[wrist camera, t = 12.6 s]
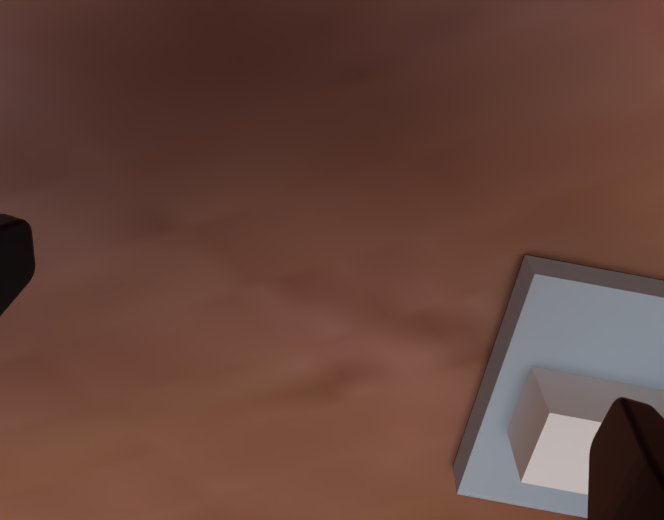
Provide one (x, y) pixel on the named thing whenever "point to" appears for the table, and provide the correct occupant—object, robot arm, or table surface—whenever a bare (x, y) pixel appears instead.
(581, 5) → the table surface
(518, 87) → the table surface
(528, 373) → the stand
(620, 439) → the robot arm
